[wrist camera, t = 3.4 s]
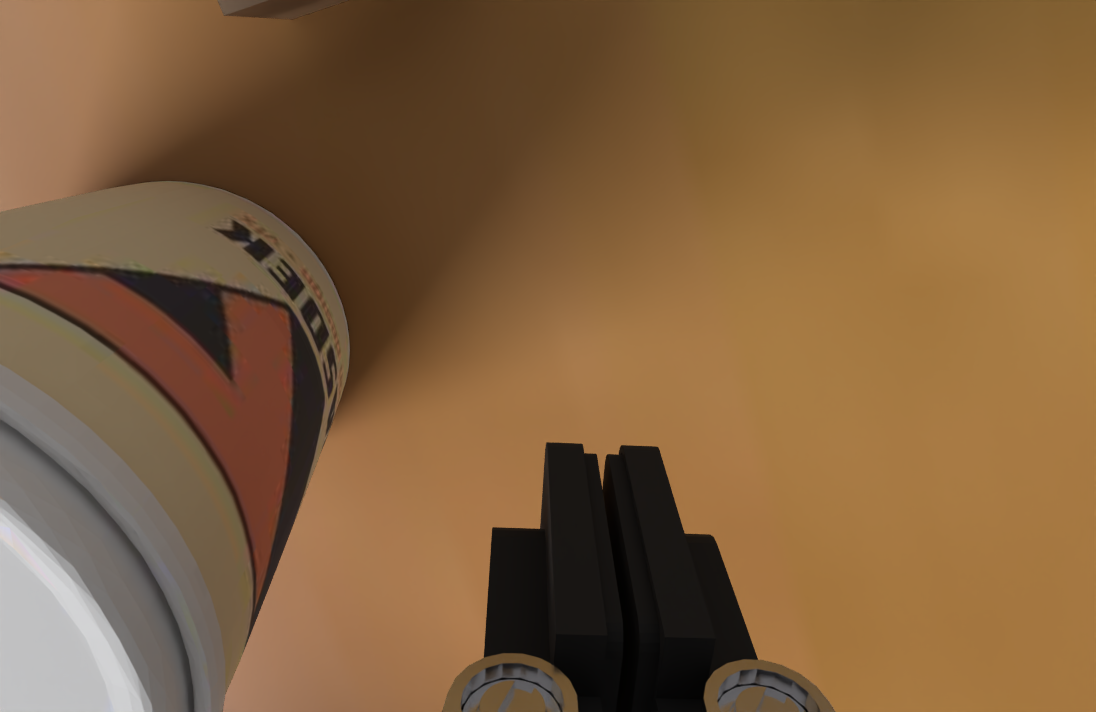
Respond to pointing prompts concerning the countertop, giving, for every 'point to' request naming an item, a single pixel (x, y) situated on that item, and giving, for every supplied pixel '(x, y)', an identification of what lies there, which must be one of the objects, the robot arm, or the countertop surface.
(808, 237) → the countertop surface
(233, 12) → the walnut block
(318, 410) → the coffee cup
